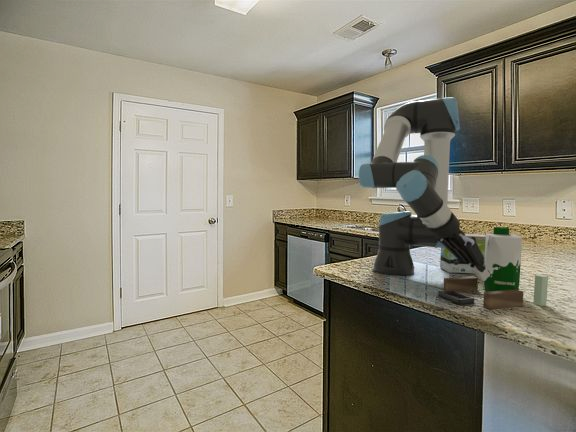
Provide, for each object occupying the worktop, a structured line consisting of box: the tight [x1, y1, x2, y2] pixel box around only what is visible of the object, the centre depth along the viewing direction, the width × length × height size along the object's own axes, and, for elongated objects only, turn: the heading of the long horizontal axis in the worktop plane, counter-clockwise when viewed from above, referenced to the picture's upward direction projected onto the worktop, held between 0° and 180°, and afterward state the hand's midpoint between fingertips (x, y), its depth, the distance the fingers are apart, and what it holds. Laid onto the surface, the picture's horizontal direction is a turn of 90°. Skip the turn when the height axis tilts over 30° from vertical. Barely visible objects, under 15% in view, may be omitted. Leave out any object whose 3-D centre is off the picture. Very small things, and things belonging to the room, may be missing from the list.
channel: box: [442, 275, 524, 310], centre depth 95 cm, size 17×11×4 cm, turn 15°
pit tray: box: [437, 290, 475, 306], centre depth 93 cm, size 8×5×2 cm, turn 15°
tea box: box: [439, 232, 486, 274], centre depth 129 cm, size 15×10×15 cm, turn 86°
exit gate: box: [482, 274, 549, 307], centre depth 98 cm, size 19×2×8 cm, turn 15°
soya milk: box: [483, 226, 523, 292], centre depth 98 cm, size 9×9×20 cm
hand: (485, 277), depth 95 cm, fingers closed
